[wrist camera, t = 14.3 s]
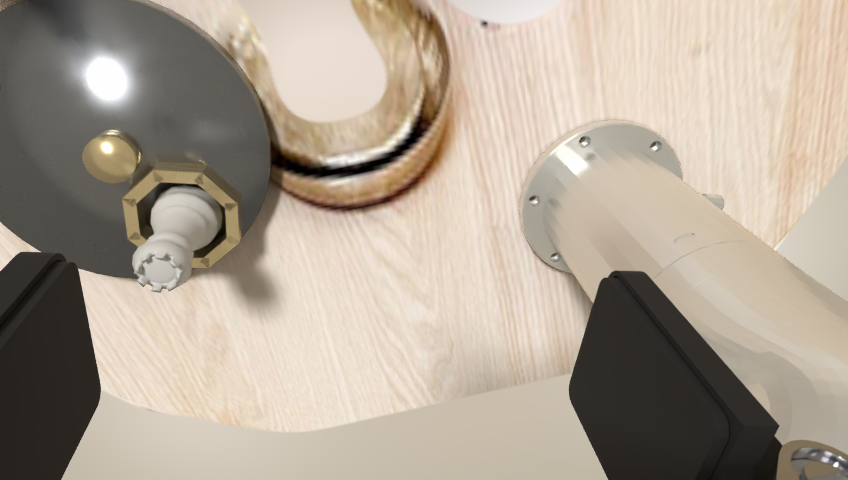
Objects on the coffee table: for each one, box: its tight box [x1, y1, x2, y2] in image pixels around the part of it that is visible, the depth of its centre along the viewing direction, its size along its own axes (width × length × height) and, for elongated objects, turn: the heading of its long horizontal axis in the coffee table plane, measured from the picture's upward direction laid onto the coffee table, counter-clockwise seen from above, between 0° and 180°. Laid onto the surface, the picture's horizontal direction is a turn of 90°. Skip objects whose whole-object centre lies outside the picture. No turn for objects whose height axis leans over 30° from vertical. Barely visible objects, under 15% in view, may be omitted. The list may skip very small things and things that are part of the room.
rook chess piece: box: [132, 185, 223, 293], centre depth 36 cm, size 4×4×8 cm
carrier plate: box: [0, 0, 272, 278], centre depth 37 cm, size 19×19×3 cm
